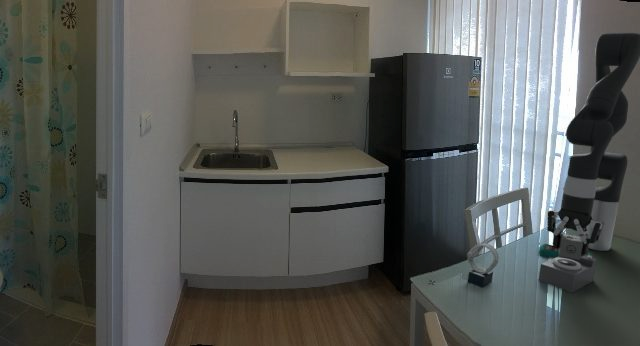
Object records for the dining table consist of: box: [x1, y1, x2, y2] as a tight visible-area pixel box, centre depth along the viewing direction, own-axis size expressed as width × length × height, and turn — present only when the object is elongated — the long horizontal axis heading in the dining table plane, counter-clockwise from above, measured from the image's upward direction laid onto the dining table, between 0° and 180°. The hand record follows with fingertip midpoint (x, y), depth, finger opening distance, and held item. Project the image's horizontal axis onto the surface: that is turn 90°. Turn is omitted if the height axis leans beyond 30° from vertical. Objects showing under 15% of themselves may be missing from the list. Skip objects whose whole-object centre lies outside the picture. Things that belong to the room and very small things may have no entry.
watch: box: [466, 242, 499, 289], centre depth 124 cm, size 6×8×11 cm
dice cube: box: [558, 233, 583, 260], centre depth 125 cm, size 5×5×5 cm
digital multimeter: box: [538, 243, 592, 259], centre depth 147 cm, size 7×15×3 cm, turn 58°
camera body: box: [537, 255, 598, 293], centre depth 128 cm, size 14×9×7 cm, turn 128°
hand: (568, 251), depth 126 cm, fingers closed on dice cube, 6 cm apart
